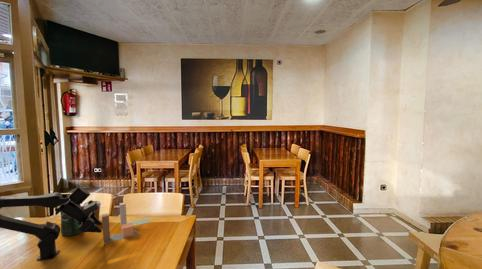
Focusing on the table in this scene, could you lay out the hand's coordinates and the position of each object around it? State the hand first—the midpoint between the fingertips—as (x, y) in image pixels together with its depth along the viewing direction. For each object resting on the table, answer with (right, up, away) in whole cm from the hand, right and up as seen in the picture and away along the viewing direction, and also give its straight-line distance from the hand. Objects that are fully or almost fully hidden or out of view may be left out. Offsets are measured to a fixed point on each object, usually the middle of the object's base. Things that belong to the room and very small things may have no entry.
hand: (101, 227), depth 124 cm
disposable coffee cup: (-19, -6, +24) cm, 31 cm away
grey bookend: (+9, -6, +21) cm, 23 cm away
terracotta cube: (+11, -6, +7) cm, 14 cm away
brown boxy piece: (+8, -7, +5) cm, 12 cm away
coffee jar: (-23, -7, +11) cm, 26 cm away
